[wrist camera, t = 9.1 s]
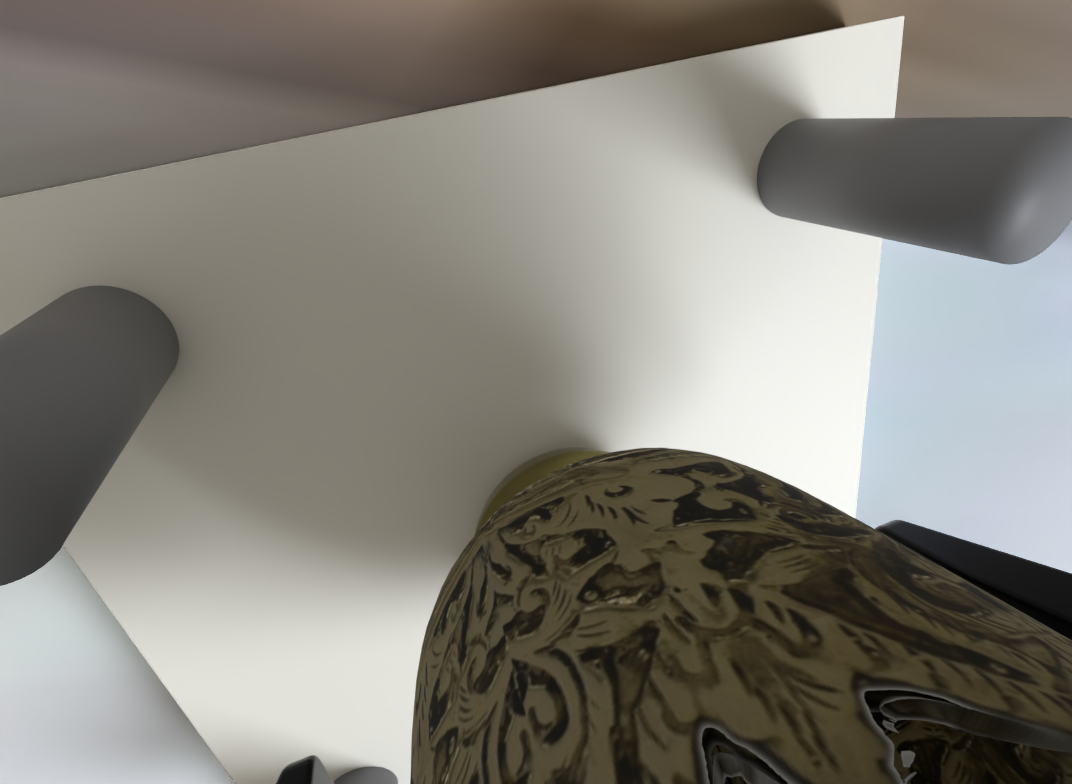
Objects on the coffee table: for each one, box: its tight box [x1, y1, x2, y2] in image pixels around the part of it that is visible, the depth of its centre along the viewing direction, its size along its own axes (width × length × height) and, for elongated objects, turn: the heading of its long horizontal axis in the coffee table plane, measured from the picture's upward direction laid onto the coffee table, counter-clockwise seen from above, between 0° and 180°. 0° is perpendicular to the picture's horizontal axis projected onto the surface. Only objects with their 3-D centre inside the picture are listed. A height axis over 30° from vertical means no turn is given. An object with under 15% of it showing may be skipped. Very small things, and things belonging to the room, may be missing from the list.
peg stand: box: [0, 16, 1072, 784], centre depth 10 cm, size 15×15×5 cm
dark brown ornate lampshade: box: [410, 447, 1072, 784], centre depth 8 cm, size 8×7×8 cm
